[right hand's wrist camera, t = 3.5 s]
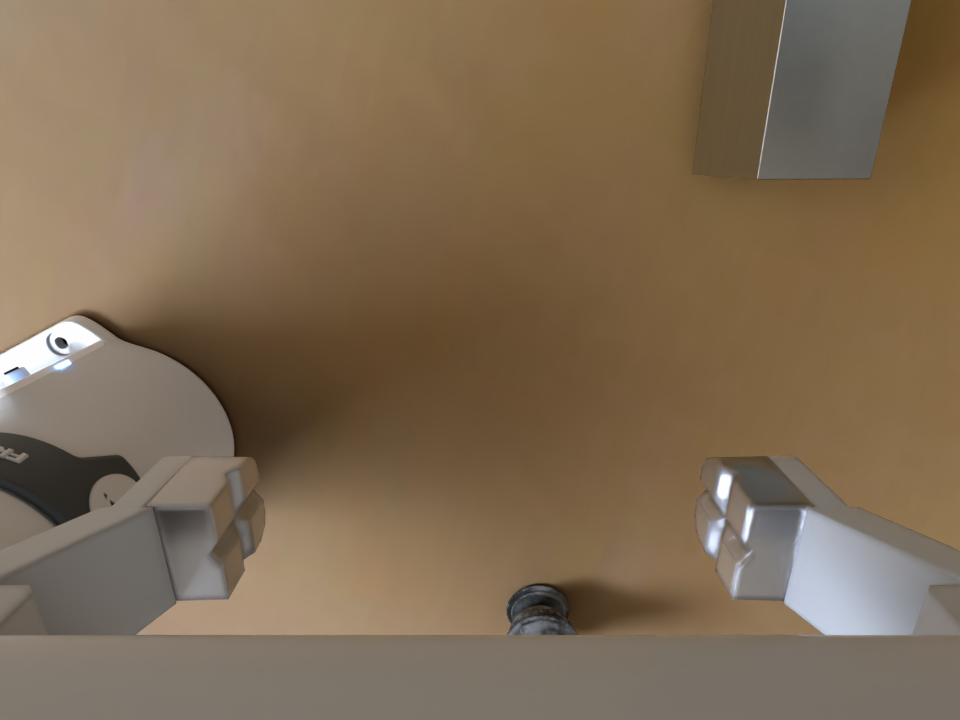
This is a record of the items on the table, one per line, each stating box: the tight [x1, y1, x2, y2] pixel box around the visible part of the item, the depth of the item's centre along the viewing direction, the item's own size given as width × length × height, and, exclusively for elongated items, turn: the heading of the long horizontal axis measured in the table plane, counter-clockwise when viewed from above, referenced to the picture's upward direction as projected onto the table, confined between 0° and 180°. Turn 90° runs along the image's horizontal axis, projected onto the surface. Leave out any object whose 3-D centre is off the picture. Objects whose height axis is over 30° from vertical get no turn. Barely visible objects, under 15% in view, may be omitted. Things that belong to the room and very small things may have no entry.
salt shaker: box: [507, 585, 578, 635], centre depth 41 cm, size 6×6×12 cm
